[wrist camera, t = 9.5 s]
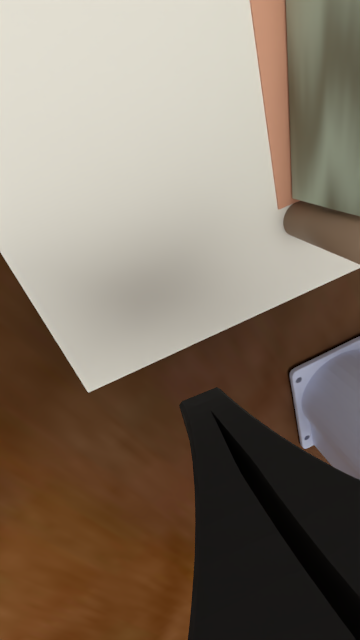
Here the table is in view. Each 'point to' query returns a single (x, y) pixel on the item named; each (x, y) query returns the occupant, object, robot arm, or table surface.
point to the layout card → (153, 175)
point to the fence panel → (325, 102)
